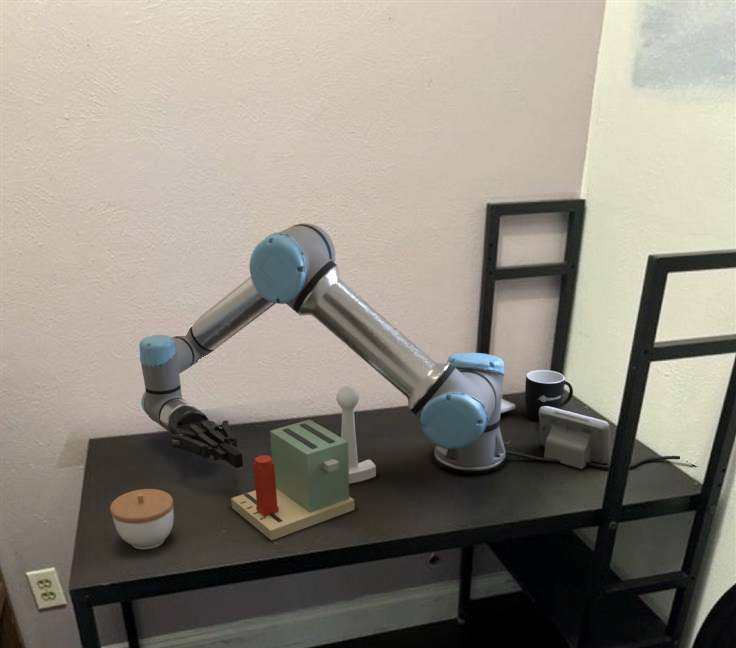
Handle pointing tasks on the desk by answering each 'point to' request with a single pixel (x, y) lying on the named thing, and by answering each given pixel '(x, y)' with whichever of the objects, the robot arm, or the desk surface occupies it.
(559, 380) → the mug
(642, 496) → the desk surface
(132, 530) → the trinket box
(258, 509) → the slider
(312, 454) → the toaster
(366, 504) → the desk surface
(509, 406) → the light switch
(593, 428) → the digital clock
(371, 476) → the joystick
